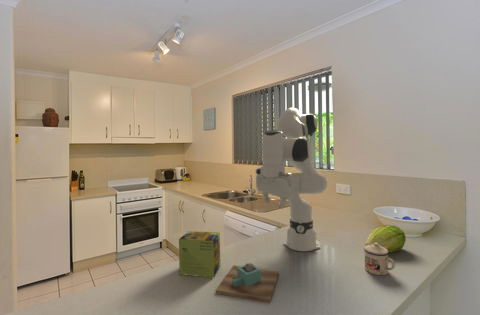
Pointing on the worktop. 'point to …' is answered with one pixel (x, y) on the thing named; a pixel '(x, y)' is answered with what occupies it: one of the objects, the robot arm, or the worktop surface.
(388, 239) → the lettuce
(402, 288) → the worktop surface
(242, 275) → the teal open cubby box
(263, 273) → the post board
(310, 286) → the worktop surface
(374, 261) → the teacup with lid
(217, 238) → the protein box
